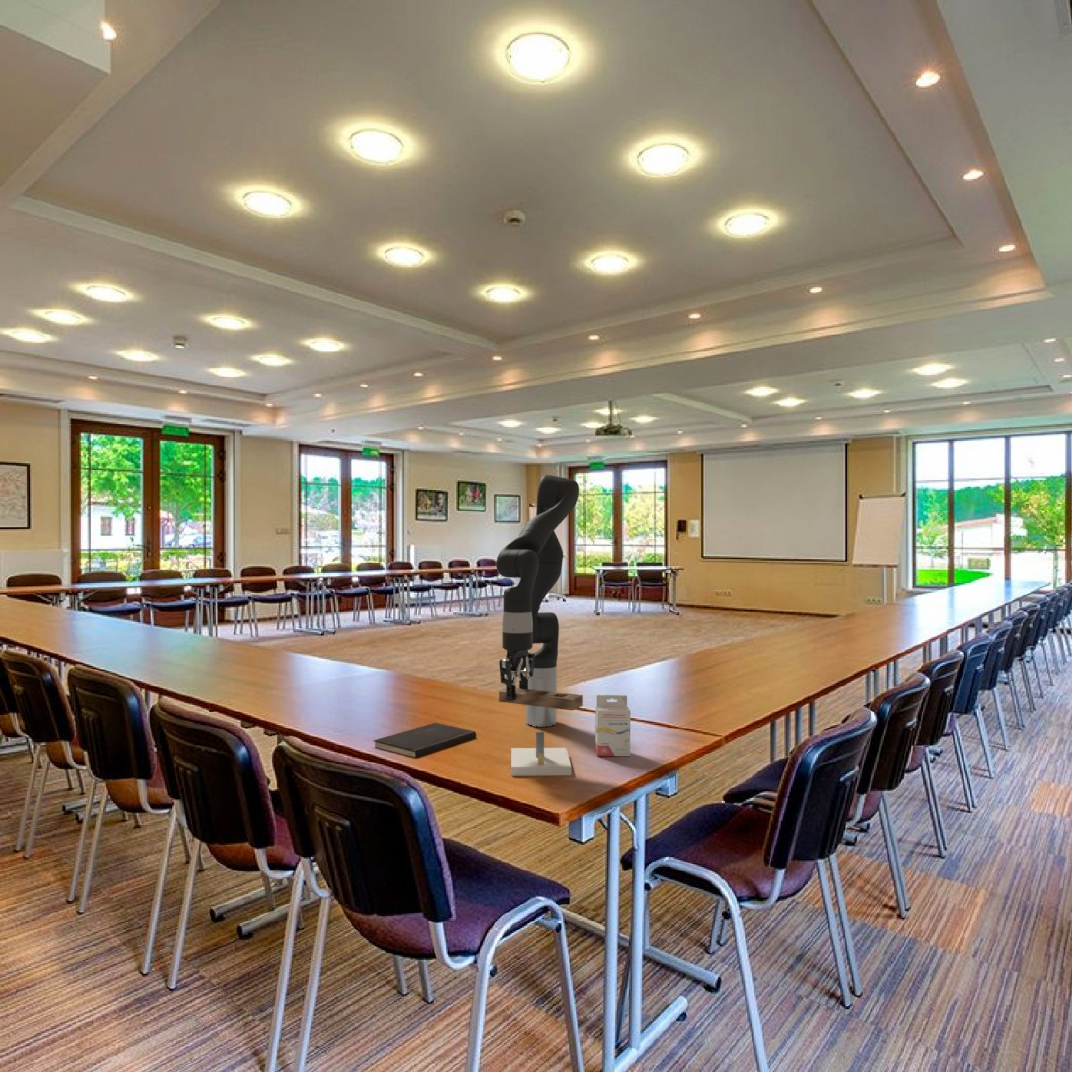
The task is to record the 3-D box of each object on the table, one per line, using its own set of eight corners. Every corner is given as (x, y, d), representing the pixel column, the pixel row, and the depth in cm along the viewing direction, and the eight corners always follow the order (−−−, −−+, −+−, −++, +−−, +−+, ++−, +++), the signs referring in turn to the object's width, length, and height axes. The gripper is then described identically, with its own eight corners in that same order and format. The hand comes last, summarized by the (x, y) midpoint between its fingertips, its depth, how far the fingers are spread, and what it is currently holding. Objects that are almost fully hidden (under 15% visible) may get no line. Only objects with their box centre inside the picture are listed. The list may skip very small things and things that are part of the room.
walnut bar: (498, 701, 171) (498, 691, 171) (510, 697, 176) (510, 687, 176) (572, 710, 162) (572, 699, 162) (582, 705, 167) (582, 695, 167)
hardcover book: (373, 748, 184) (373, 740, 184) (435, 730, 202) (435, 722, 202) (415, 760, 174) (415, 751, 174) (476, 739, 193) (476, 731, 193)
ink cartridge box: (597, 757, 175) (597, 698, 175) (594, 751, 180) (594, 694, 180) (630, 757, 176) (630, 698, 176) (627, 751, 181) (627, 694, 181)
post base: (511, 756, 176) (511, 724, 176) (566, 755, 177) (566, 724, 177) (511, 775, 161) (511, 741, 161) (571, 775, 162) (571, 740, 162)
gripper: (516, 633, 164) (516, 705, 164) (544, 627, 177) (544, 694, 177) (489, 632, 168) (489, 702, 167) (518, 626, 180) (518, 691, 180)
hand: (517, 697), depth 172 cm, fingers closed on walnut bar, 5 cm apart
